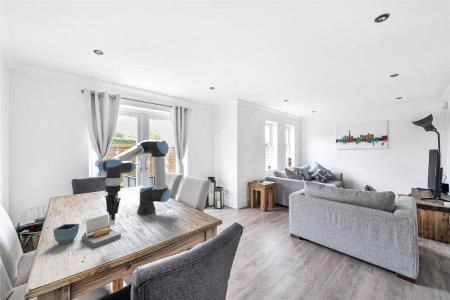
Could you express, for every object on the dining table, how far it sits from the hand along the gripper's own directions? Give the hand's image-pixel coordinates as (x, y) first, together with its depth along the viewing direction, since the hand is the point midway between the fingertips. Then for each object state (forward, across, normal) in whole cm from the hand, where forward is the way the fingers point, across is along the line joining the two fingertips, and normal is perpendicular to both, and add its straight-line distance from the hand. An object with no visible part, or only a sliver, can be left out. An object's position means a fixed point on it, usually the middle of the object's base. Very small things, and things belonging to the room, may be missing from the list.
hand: (111, 225), depth 107 cm
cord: (+6, -12, 0) cm, 13 cm away
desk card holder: (+11, -12, 0) cm, 17 cm away
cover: (+3, -17, 0) cm, 17 cm away
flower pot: (+12, -25, -13) cm, 30 cm away
